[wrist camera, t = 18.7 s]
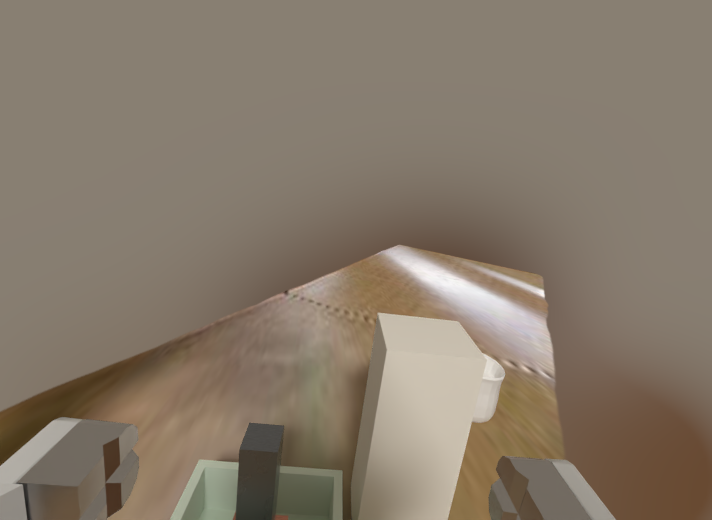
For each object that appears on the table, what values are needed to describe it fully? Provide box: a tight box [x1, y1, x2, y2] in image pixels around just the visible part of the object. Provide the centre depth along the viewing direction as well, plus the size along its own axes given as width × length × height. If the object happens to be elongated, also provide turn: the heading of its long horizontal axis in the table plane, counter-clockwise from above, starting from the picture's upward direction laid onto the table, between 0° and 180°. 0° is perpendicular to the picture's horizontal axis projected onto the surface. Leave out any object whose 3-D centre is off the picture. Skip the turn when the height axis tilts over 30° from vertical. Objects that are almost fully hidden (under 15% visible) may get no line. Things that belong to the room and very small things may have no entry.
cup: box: [472, 354, 505, 423], centre depth 69 cm, size 10×10×10 cm
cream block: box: [351, 313, 487, 520], centre depth 42 cm, size 10×9×26 cm
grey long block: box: [233, 423, 288, 520], centre depth 34 cm, size 6×18×5 cm
